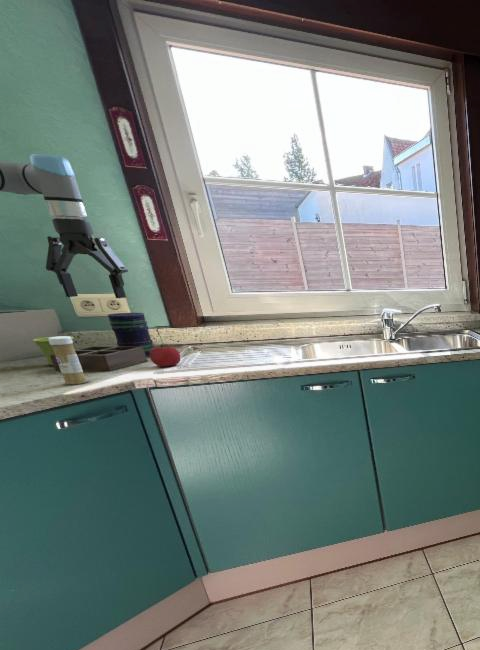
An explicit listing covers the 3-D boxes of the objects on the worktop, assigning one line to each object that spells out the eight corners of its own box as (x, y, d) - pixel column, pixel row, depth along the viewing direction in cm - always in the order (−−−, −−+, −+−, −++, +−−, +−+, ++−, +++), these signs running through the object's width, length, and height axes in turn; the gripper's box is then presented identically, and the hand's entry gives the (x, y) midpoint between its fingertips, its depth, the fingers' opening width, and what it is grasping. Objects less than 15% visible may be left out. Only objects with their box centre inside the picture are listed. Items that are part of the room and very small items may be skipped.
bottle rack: (55, 370, 157) (49, 355, 155) (97, 360, 172) (92, 346, 170) (110, 371, 159) (104, 355, 157) (147, 361, 173) (142, 346, 171)
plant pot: (36, 368, 160) (25, 341, 157) (52, 362, 168) (42, 336, 164) (74, 366, 163) (64, 340, 160) (88, 360, 171) (79, 335, 168)
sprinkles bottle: (61, 384, 142) (42, 337, 137) (78, 380, 146) (61, 335, 142) (74, 385, 142) (56, 338, 137) (91, 381, 146) (75, 336, 141)
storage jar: (163, 354, 184) (151, 313, 179) (135, 359, 175) (121, 316, 170) (143, 352, 186) (130, 312, 181) (114, 357, 177) (99, 314, 172)
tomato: (154, 364, 168) (147, 343, 165) (183, 362, 172) (177, 342, 170) (151, 369, 162) (144, 347, 159) (182, 366, 166) (175, 345, 164)
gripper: (128, 221, 142) (151, 297, 150) (35, 217, 140) (63, 295, 148) (105, 219, 135) (130, 299, 143) (8, 215, 133) (39, 297, 141)
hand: (96, 297), depth 145 cm, fingers open, 13 cm apart
